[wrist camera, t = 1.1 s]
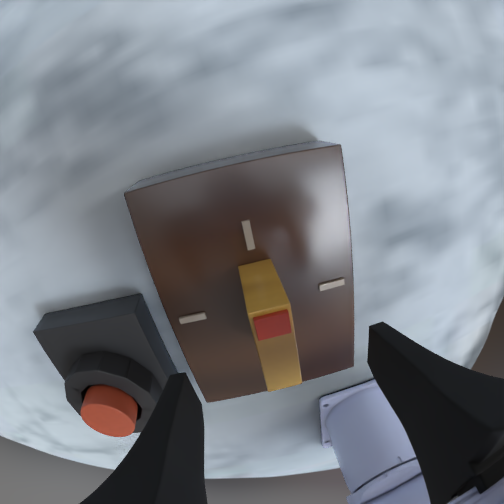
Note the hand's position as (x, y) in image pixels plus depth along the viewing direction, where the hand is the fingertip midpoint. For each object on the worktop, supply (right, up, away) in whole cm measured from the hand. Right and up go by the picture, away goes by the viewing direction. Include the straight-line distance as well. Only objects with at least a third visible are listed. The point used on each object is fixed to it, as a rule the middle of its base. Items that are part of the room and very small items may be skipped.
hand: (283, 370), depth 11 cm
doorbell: (-11, -4, +9) cm, 15 cm away
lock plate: (-1, +3, +7) cm, 8 cm away
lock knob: (-1, +2, +5) cm, 5 cm away
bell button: (-10, -5, +6) cm, 13 cm away
